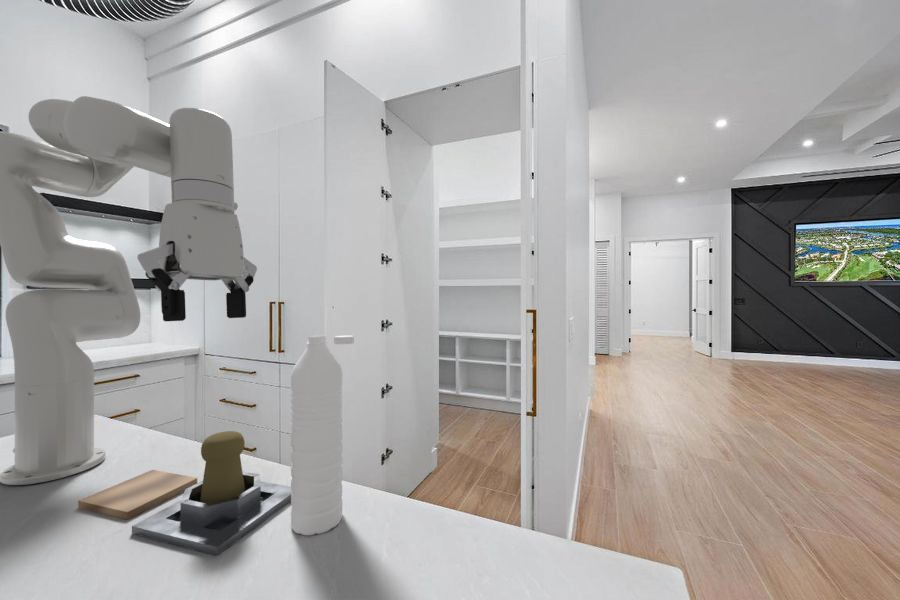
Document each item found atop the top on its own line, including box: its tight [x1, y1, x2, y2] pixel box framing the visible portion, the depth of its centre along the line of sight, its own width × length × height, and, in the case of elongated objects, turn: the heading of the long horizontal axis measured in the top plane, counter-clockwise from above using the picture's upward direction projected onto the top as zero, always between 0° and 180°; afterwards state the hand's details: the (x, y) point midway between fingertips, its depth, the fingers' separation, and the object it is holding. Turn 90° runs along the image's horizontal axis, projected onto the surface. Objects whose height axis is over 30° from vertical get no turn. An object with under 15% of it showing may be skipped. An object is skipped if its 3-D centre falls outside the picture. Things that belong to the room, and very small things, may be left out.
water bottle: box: [290, 334, 355, 536], centre depth 49 cm, size 9×6×25 cm
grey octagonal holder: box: [131, 470, 292, 557], centre depth 51 cm, size 14×14×4 cm
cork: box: [200, 430, 245, 504], centre depth 51 cm, size 6×6×11 cm
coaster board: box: [77, 469, 198, 520], centre depth 56 cm, size 10×10×1 cm
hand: (208, 319), depth 53 cm, fingers open, 9 cm apart
